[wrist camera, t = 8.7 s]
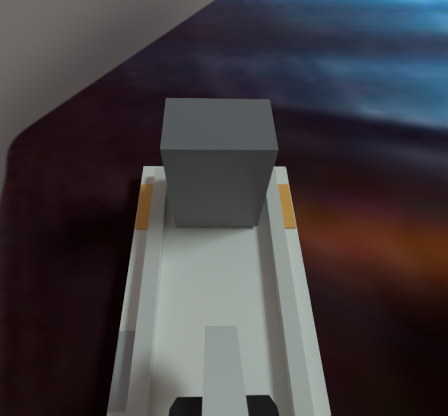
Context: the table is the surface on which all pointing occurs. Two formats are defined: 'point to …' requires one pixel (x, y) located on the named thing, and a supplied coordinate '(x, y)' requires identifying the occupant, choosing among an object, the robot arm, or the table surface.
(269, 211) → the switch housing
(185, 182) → the switch tab
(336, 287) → the table surface
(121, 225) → the table surface
